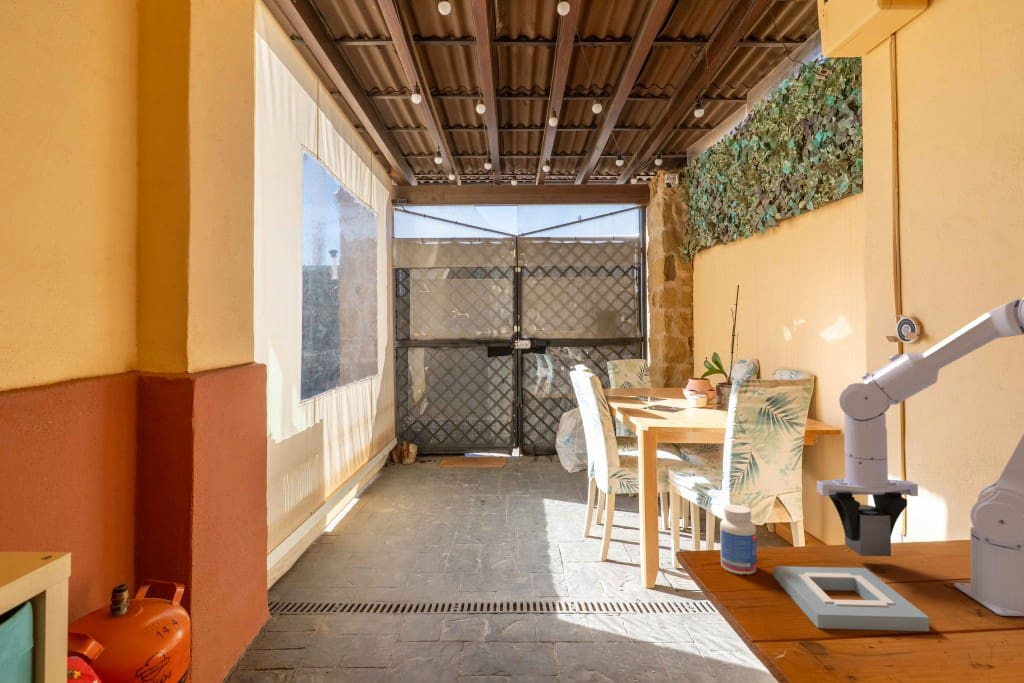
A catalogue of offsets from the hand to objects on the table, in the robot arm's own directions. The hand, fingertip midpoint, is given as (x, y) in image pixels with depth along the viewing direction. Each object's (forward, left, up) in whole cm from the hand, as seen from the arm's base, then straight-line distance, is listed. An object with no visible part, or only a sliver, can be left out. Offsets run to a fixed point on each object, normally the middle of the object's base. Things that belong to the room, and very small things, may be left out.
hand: (867, 538), depth 83 cm
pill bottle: (+21, +2, -5) cm, 22 cm away
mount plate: (+10, +12, -4) cm, 16 cm away
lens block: (0, 0, -2) cm, 2 cm away
